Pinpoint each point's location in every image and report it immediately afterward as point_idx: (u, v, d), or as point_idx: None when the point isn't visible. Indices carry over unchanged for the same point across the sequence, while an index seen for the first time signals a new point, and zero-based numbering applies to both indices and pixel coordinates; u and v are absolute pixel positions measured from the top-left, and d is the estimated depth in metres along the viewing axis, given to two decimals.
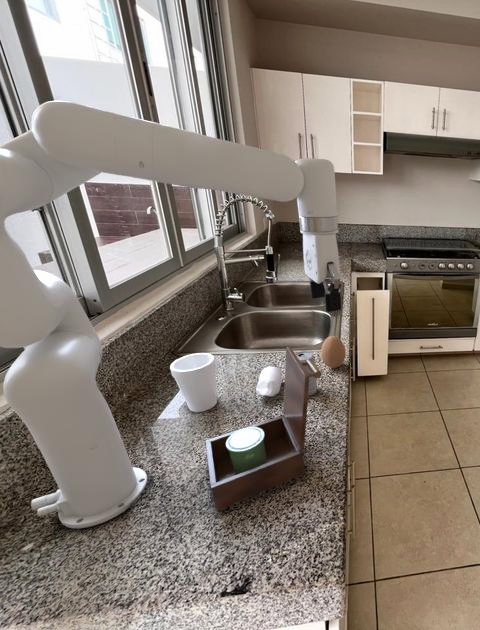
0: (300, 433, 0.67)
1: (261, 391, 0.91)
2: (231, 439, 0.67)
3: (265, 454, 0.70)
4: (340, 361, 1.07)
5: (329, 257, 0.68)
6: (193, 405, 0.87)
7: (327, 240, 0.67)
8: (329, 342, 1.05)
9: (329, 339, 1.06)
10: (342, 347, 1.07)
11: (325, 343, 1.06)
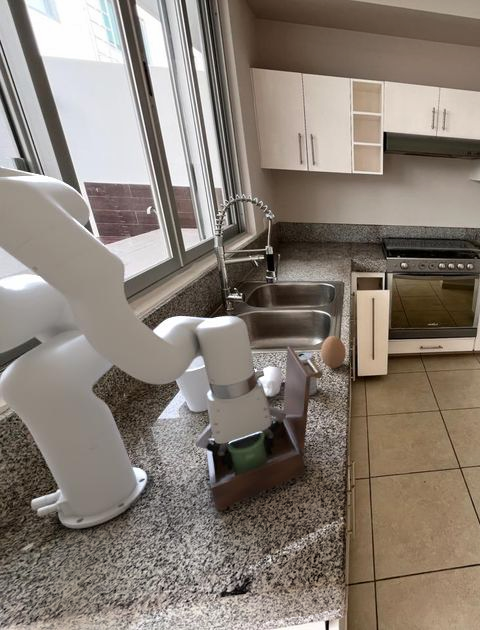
0: (300, 433, 0.67)
1: None
2: None
3: (265, 454, 0.70)
4: (340, 361, 1.07)
5: (209, 417, 0.62)
6: (193, 405, 0.87)
7: (207, 401, 0.61)
8: (329, 342, 1.05)
9: (329, 339, 1.06)
10: (342, 347, 1.07)
11: (325, 343, 1.06)
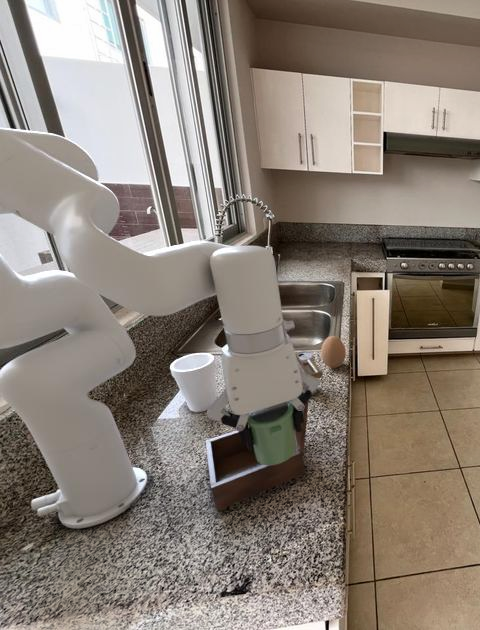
0: (300, 433, 0.67)
1: None
2: None
3: (294, 431, 0.55)
4: (340, 361, 1.07)
5: (224, 380, 0.48)
6: (193, 405, 0.87)
7: (223, 359, 0.47)
8: (329, 342, 1.05)
9: (329, 339, 1.06)
10: (342, 347, 1.07)
11: (325, 343, 1.06)
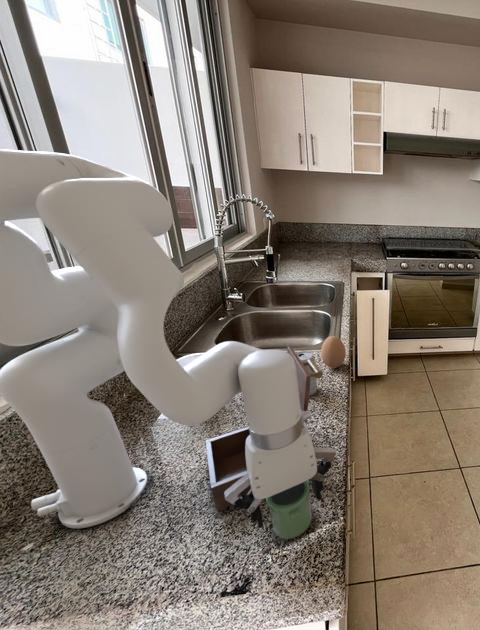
0: None
1: None
2: None
3: (309, 508, 0.60)
4: (340, 361, 1.07)
5: (247, 468, 0.52)
6: None
7: (246, 451, 0.51)
8: (329, 342, 1.05)
9: (329, 339, 1.06)
10: (342, 347, 1.07)
11: (325, 343, 1.06)
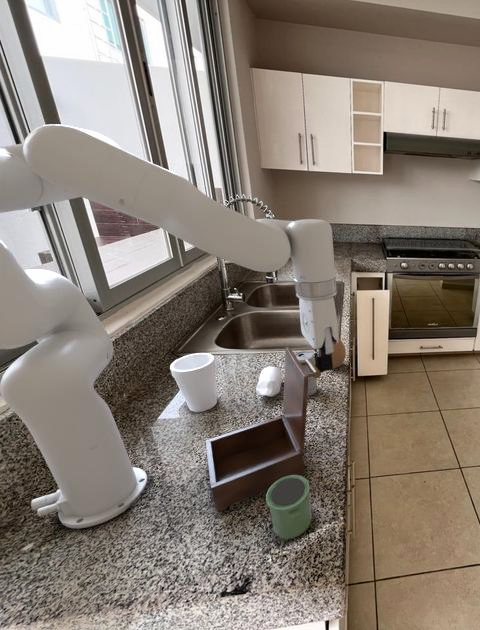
0: (300, 433, 0.67)
1: (261, 391, 0.91)
2: (271, 492, 0.57)
3: (309, 508, 0.60)
4: (340, 361, 1.07)
5: (327, 322, 0.64)
6: (193, 405, 0.87)
7: (325, 306, 0.63)
8: None
9: None
10: (342, 347, 1.07)
11: None
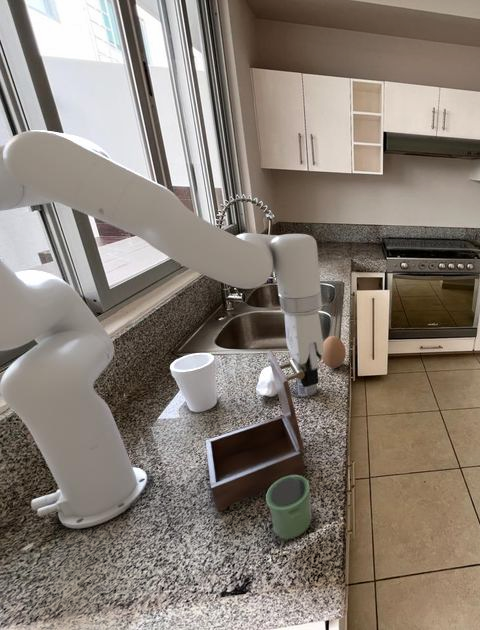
0: (295, 435, 0.66)
1: (261, 391, 0.91)
2: (271, 492, 0.57)
3: (309, 508, 0.60)
4: (340, 361, 1.07)
5: (311, 338, 0.63)
6: (193, 405, 0.87)
7: (309, 321, 0.62)
8: (329, 342, 1.05)
9: (329, 339, 1.06)
10: (342, 347, 1.07)
11: (325, 343, 1.06)
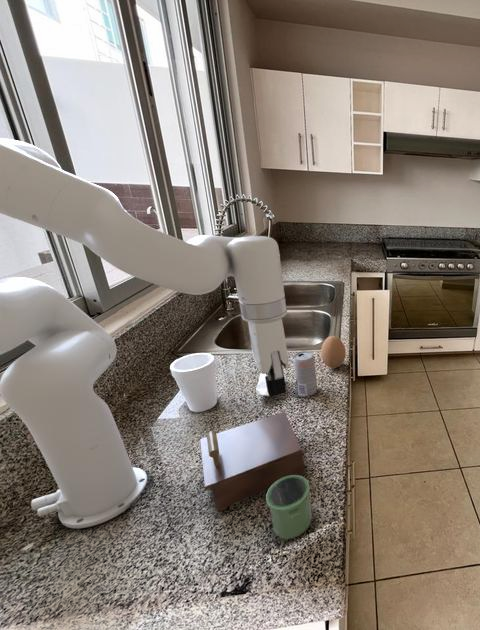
0: None
1: (261, 391, 0.91)
2: (271, 492, 0.57)
3: (309, 508, 0.60)
4: (340, 361, 1.07)
5: (273, 346, 0.60)
6: (193, 405, 0.87)
7: (271, 329, 0.59)
8: (329, 342, 1.05)
9: (329, 339, 1.06)
10: (342, 347, 1.07)
11: (325, 343, 1.06)
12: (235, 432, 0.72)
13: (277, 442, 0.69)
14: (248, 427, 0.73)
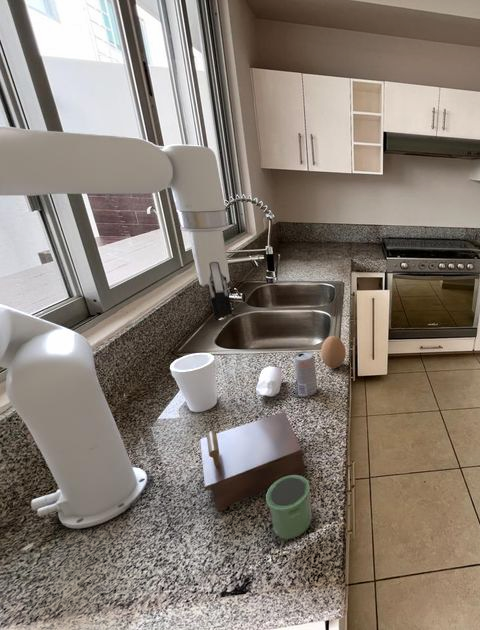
0: None
1: (261, 391, 0.91)
2: (271, 492, 0.57)
3: (309, 508, 0.60)
4: (340, 361, 1.07)
5: (212, 257, 0.60)
6: (193, 405, 0.87)
7: (208, 238, 0.60)
8: (329, 342, 1.05)
9: (329, 339, 1.06)
10: (342, 347, 1.07)
11: (325, 343, 1.06)
12: (235, 432, 0.72)
13: (277, 442, 0.69)
14: (248, 427, 0.73)
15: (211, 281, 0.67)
